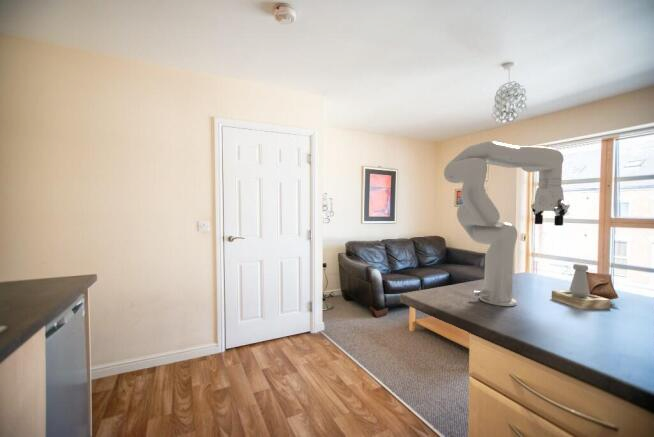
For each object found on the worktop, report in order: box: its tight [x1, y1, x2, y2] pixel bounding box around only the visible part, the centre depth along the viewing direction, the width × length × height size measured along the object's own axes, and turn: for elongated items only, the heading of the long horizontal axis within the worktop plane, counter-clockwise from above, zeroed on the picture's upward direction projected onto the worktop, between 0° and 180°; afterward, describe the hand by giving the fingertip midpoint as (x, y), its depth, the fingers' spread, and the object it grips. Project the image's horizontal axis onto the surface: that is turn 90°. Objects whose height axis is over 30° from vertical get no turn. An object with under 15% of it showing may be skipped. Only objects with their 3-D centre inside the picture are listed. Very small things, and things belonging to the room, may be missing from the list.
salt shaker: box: [569, 263, 590, 298], centre depth 109 cm, size 6×6×13 cm
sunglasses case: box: [586, 271, 619, 301], centre depth 115 cm, size 18×7×7 cm
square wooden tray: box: [551, 289, 611, 310], centre depth 109 cm, size 12×12×3 cm
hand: (548, 224), depth 118 cm, fingers open, 9 cm apart
